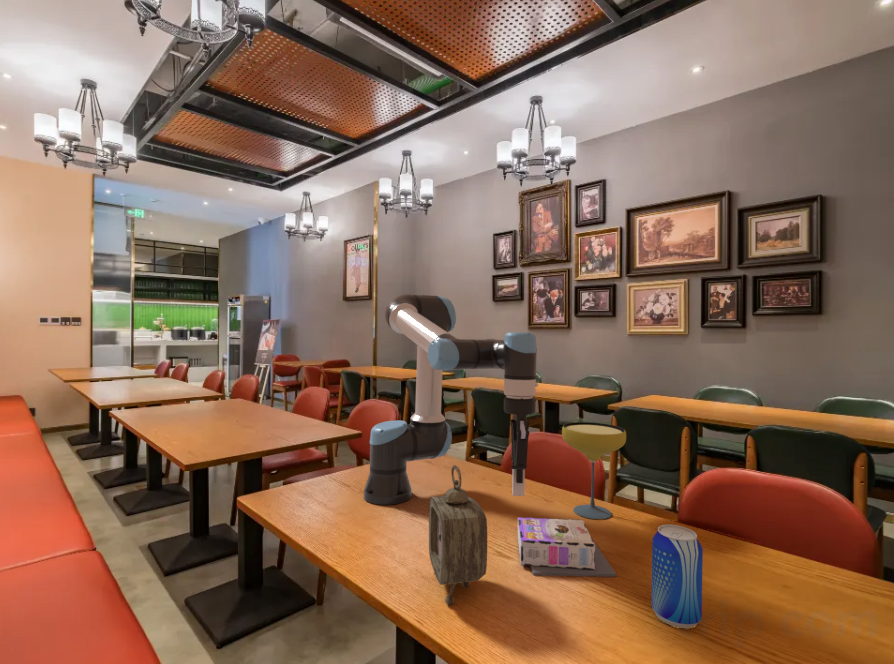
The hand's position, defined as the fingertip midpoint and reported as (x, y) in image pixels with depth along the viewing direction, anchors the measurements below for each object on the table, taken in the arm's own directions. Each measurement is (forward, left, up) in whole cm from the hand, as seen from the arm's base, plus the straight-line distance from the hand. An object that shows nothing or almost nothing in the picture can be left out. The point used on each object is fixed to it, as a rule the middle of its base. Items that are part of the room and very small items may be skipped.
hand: (518, 494), depth 109 cm
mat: (0, +11, -14) cm, 18 cm away
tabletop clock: (+16, -15, -14) cm, 26 cm away
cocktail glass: (-26, +26, -14) cm, 39 cm away
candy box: (0, 0, -11) cm, 11 cm away
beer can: (+24, +26, -14) cm, 38 cm away
